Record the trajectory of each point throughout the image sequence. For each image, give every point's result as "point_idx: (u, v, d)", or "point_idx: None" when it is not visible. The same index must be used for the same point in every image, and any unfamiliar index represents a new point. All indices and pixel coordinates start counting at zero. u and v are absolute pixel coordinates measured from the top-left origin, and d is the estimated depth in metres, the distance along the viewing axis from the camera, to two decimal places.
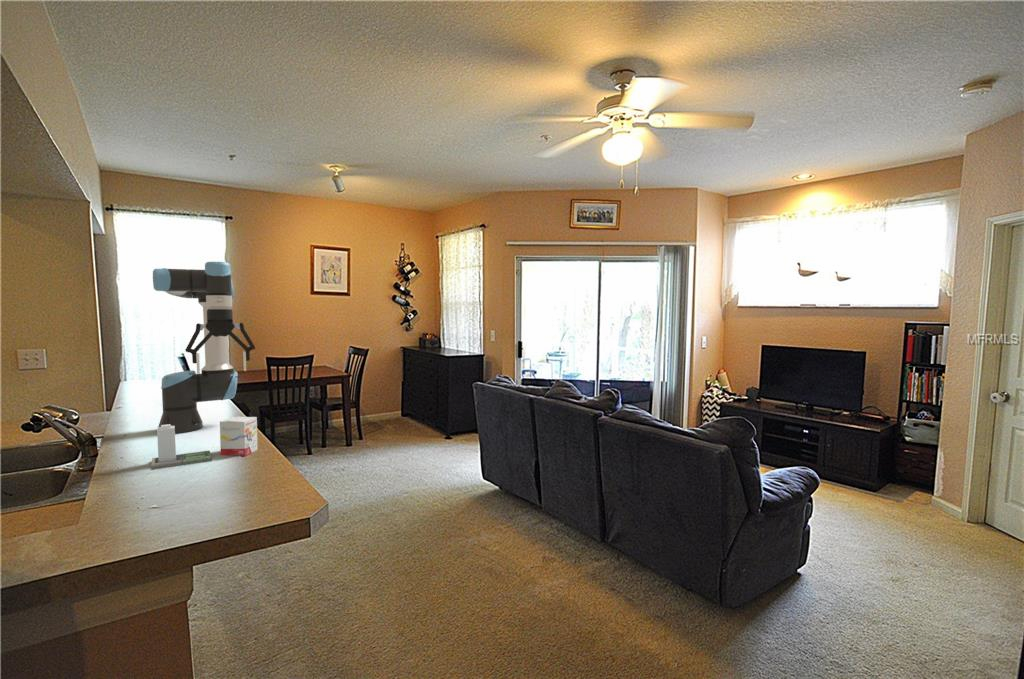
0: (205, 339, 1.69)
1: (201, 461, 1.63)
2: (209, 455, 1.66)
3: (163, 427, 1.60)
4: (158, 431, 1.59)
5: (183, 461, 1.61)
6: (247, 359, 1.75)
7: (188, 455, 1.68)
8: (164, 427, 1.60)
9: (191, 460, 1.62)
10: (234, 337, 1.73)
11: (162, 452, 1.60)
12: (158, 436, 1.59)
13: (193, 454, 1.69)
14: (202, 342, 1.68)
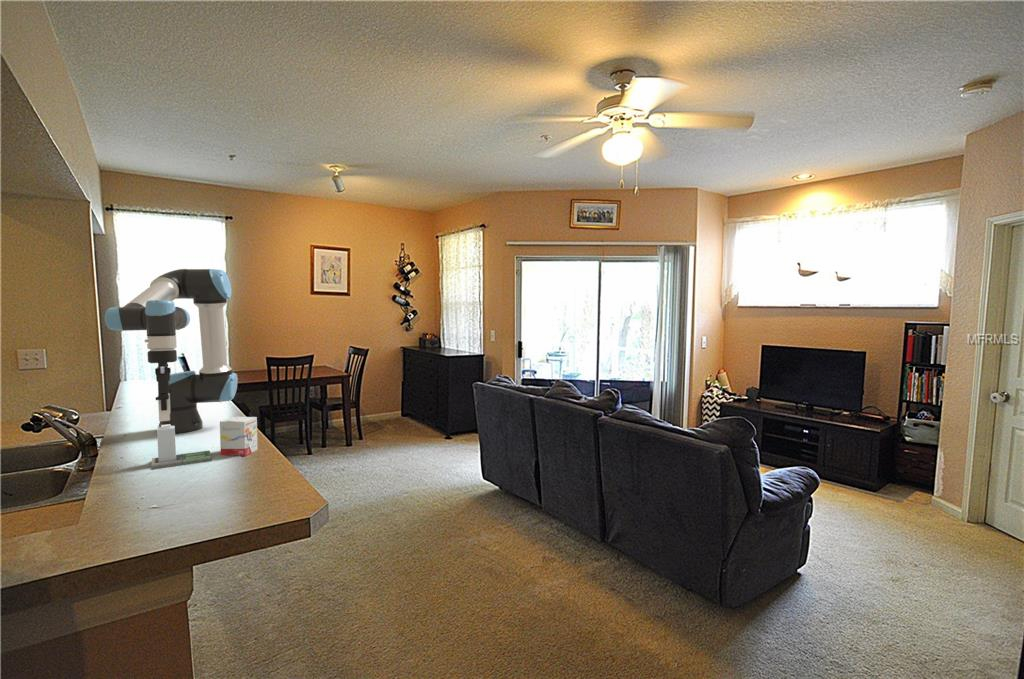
0: None
1: (201, 461, 1.63)
2: (209, 455, 1.66)
3: (163, 427, 1.60)
4: (158, 431, 1.59)
5: (183, 461, 1.61)
6: (161, 409, 1.54)
7: (188, 455, 1.68)
8: (164, 427, 1.60)
9: (191, 460, 1.62)
10: (158, 382, 1.57)
11: (162, 452, 1.60)
12: (158, 436, 1.59)
13: (193, 454, 1.69)
14: None
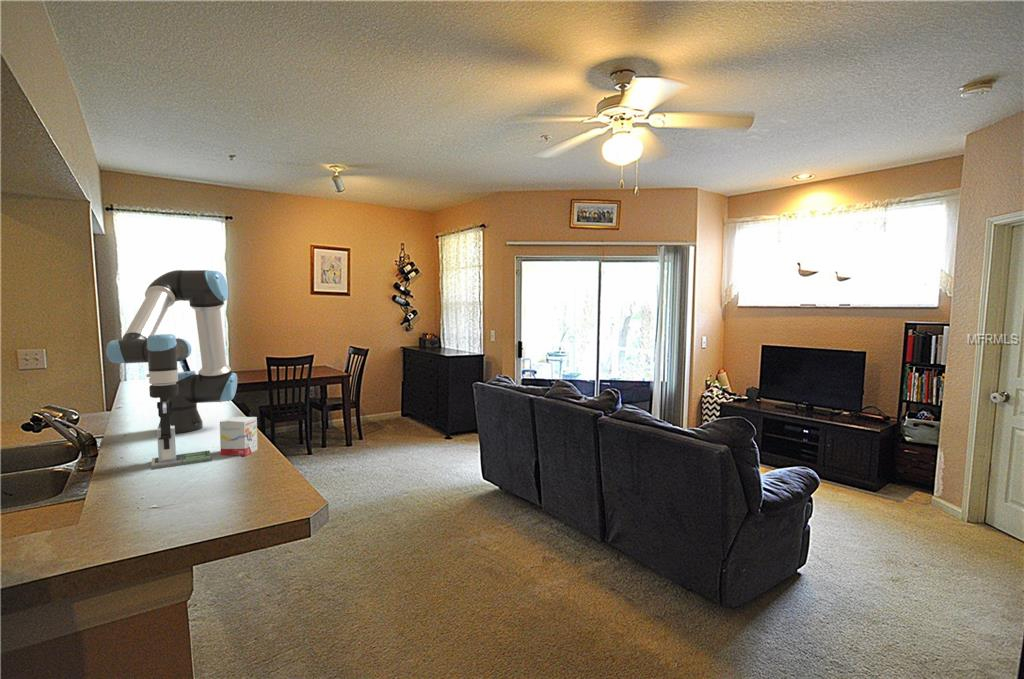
0: None
1: (201, 461, 1.63)
2: (209, 455, 1.66)
3: None
4: (158, 431, 1.59)
5: (183, 461, 1.61)
6: (164, 447, 1.59)
7: (188, 455, 1.68)
8: None
9: (191, 460, 1.62)
10: None
11: None
12: (158, 436, 1.59)
13: (193, 454, 1.69)
14: None
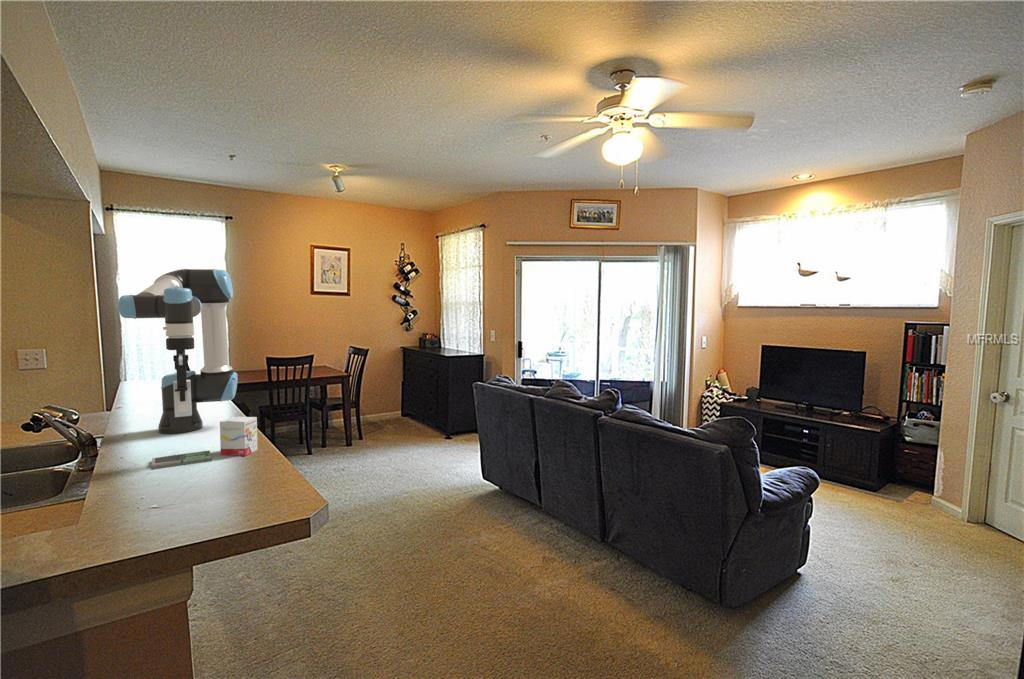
0: None
1: (201, 461, 1.63)
2: (209, 455, 1.66)
3: None
4: (174, 383, 1.60)
5: (183, 461, 1.61)
6: (180, 400, 1.60)
7: (188, 455, 1.68)
8: None
9: (191, 460, 1.62)
10: None
11: None
12: (174, 388, 1.61)
13: (193, 454, 1.69)
14: None
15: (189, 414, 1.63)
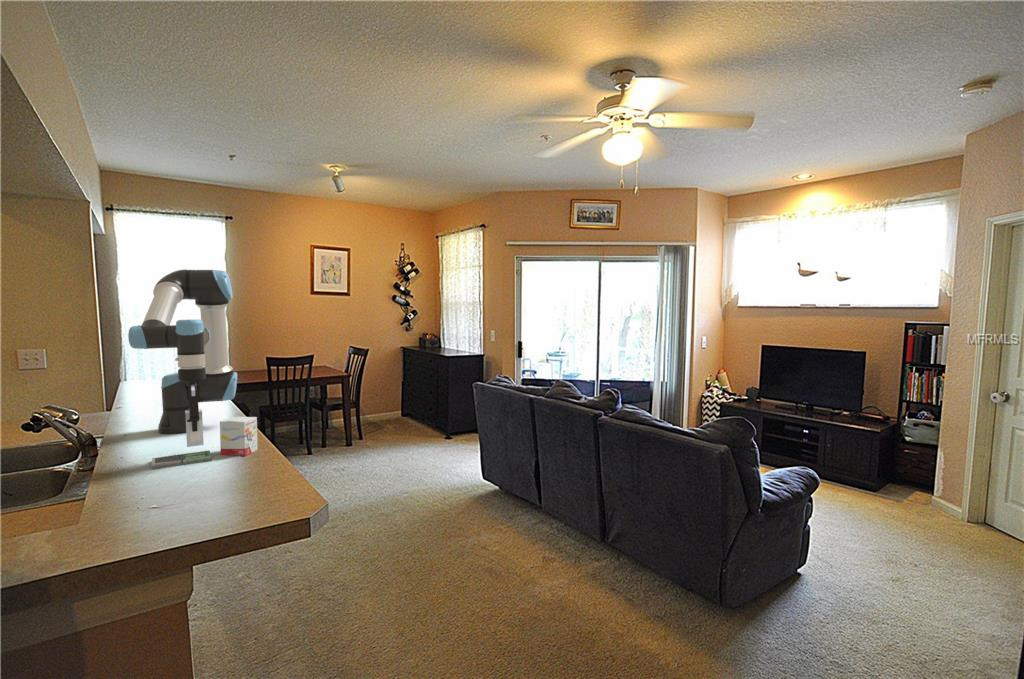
0: None
1: (201, 461, 1.63)
2: (209, 455, 1.66)
3: None
4: (186, 414, 1.63)
5: (183, 461, 1.61)
6: (192, 430, 1.63)
7: (188, 455, 1.68)
8: None
9: (191, 460, 1.62)
10: None
11: None
12: (186, 418, 1.63)
13: (193, 454, 1.69)
14: None
15: (201, 443, 1.65)
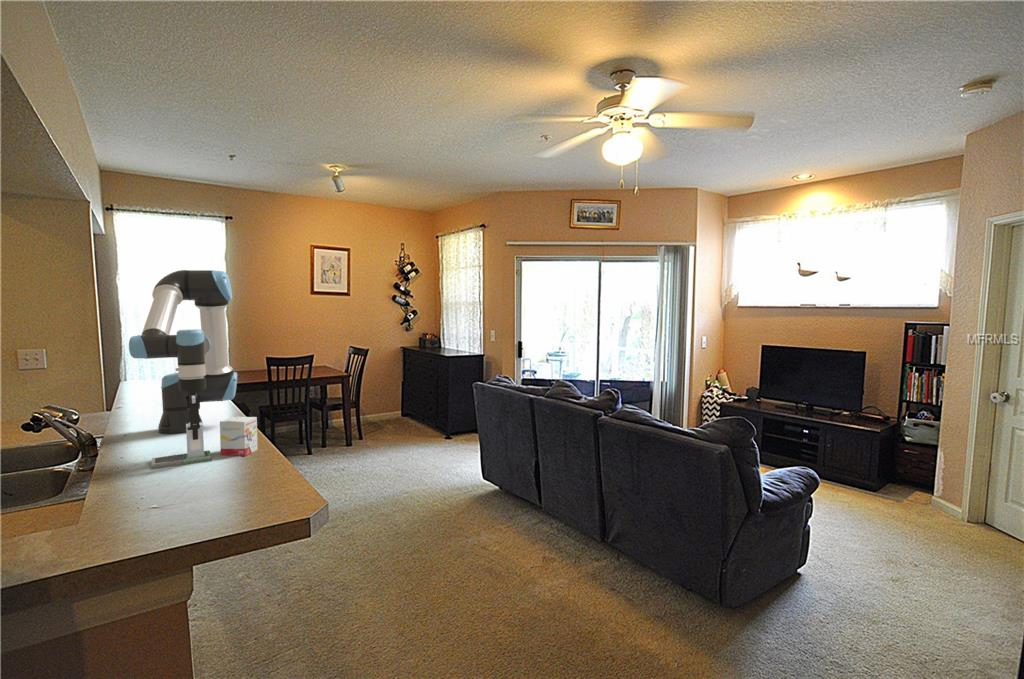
0: None
1: (201, 461, 1.63)
2: (209, 455, 1.66)
3: None
4: (187, 427, 1.63)
5: (183, 461, 1.61)
6: (192, 438, 1.60)
7: None
8: (193, 424, 1.65)
9: (191, 460, 1.62)
10: (189, 411, 1.62)
11: None
12: (187, 432, 1.63)
13: None
14: (189, 411, 1.69)
15: None
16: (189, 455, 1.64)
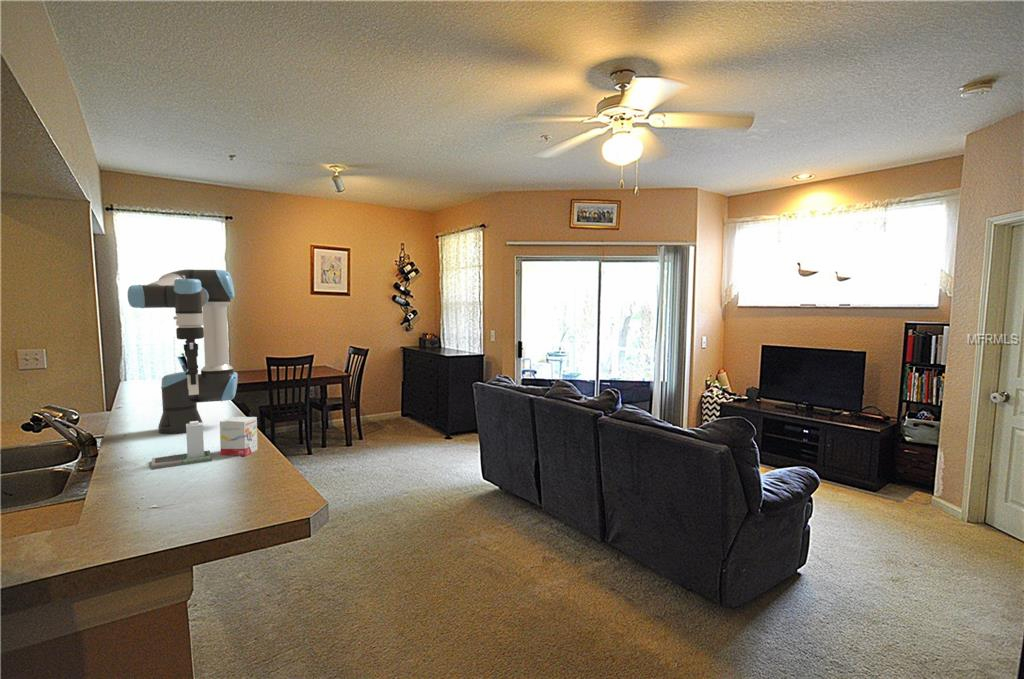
0: None
1: (201, 461, 1.63)
2: (209, 455, 1.66)
3: (192, 424, 1.65)
4: (187, 427, 1.63)
5: (183, 461, 1.61)
6: (190, 383, 1.61)
7: None
8: (193, 424, 1.65)
9: (191, 460, 1.62)
10: (187, 357, 1.64)
11: (191, 447, 1.64)
12: (187, 432, 1.63)
13: None
14: None
15: None
16: (189, 455, 1.64)
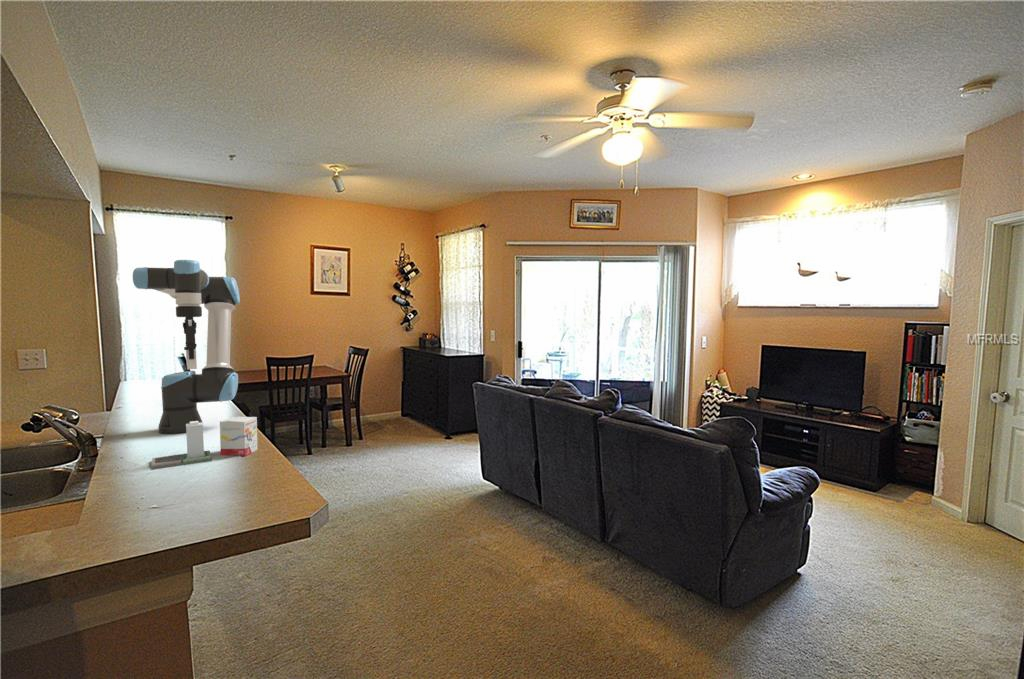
0: None
1: (201, 461, 1.63)
2: (209, 455, 1.66)
3: (192, 424, 1.65)
4: (187, 427, 1.63)
5: (183, 461, 1.61)
6: (189, 358, 1.70)
7: None
8: (193, 424, 1.65)
9: (191, 460, 1.62)
10: (186, 334, 1.73)
11: (191, 447, 1.64)
12: (187, 432, 1.63)
13: None
14: None
15: None
16: (189, 455, 1.64)
